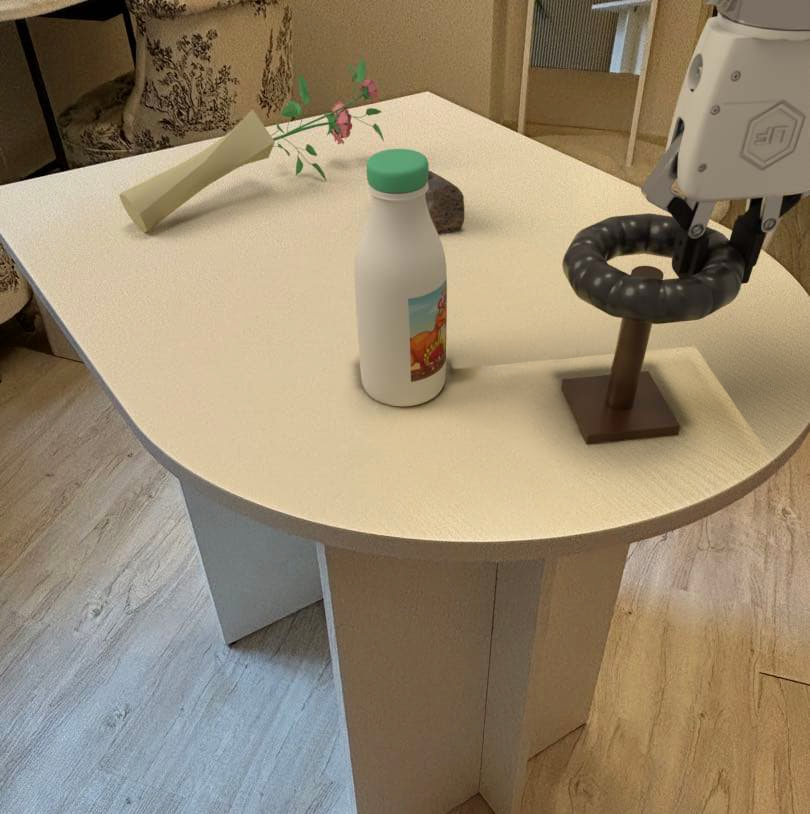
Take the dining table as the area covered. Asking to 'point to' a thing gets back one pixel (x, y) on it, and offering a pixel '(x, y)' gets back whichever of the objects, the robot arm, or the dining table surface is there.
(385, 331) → the milk bottle
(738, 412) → the dining table surface
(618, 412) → the holder
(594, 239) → the ring
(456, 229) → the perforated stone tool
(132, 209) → the flower vase
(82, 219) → the dining table surface
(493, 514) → the dining table surface
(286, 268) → the dining table surface
